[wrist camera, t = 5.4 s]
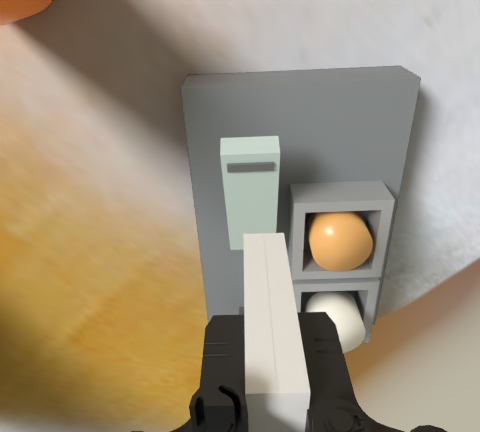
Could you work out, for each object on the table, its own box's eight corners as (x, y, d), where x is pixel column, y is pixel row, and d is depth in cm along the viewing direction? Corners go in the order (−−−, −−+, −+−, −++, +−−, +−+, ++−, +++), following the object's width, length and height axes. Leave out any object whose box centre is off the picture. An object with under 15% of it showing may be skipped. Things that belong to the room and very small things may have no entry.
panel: (211, 300, 42) (206, 354, 36) (187, 75, 30) (174, 100, 24) (363, 295, 42) (384, 349, 36) (400, 65, 30) (440, 89, 24)
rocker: (230, 234, 32) (230, 251, 31) (220, 137, 24) (220, 156, 23) (274, 232, 32) (275, 250, 31) (278, 135, 24) (280, 154, 23)
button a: (303, 327, 36) (308, 354, 33) (305, 289, 33) (311, 316, 31) (353, 325, 35) (362, 353, 33) (359, 288, 33) (368, 314, 31)
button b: (305, 249, 33) (310, 272, 30) (307, 202, 31) (313, 223, 28) (358, 247, 33) (368, 270, 30) (365, 200, 30) (376, 221, 28)
